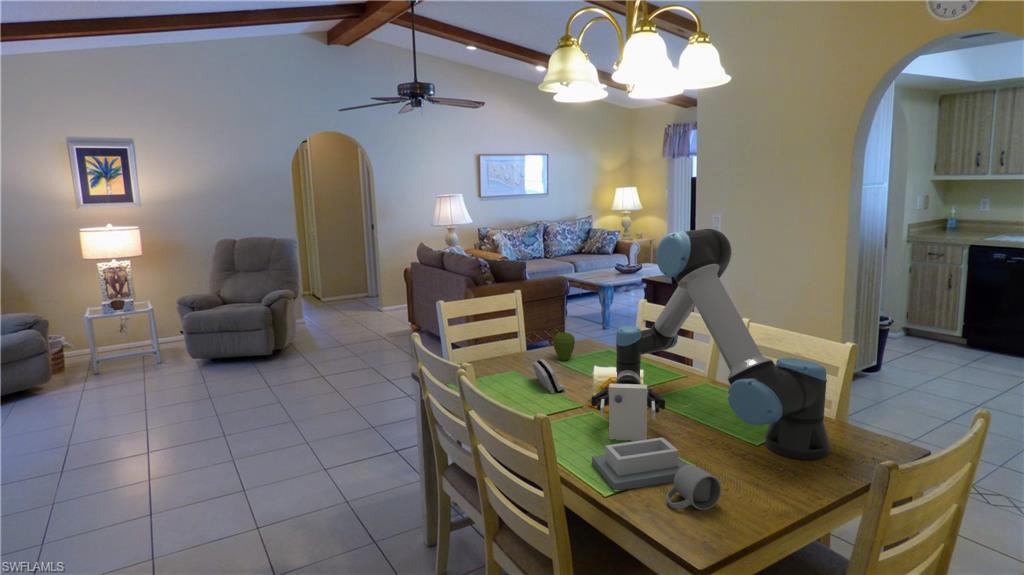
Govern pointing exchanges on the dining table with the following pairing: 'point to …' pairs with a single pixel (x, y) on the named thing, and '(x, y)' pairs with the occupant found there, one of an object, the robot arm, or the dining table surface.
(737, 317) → the robot arm
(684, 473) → the ceramic mug
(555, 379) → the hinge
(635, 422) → the cabinet door
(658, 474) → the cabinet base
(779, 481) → the dining table surface
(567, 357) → the green vase
